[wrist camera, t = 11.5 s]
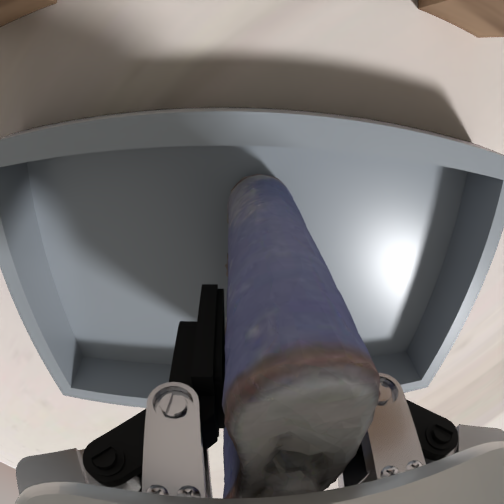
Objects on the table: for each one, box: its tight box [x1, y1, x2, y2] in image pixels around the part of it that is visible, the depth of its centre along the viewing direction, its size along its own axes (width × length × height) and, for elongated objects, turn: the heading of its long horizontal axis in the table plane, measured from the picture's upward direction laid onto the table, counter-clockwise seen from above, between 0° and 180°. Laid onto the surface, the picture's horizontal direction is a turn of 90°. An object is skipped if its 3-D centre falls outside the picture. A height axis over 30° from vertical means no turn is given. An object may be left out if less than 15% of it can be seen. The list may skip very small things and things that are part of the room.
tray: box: [0, 107, 504, 408], centre depth 13 cm, size 14×22×4 cm, turn 88°
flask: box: [222, 174, 381, 499], centre depth 8 cm, size 9×3×11 cm, turn 176°
